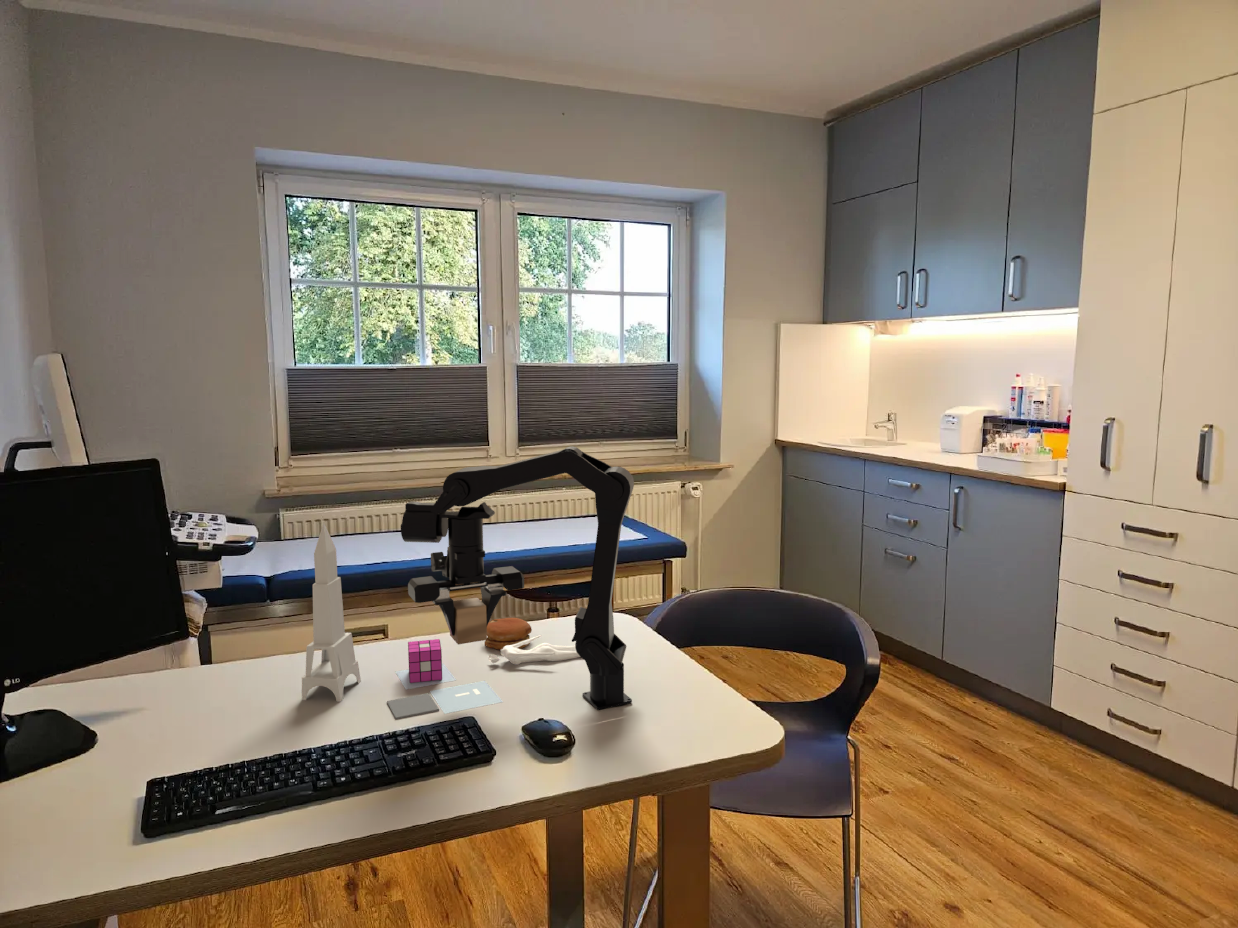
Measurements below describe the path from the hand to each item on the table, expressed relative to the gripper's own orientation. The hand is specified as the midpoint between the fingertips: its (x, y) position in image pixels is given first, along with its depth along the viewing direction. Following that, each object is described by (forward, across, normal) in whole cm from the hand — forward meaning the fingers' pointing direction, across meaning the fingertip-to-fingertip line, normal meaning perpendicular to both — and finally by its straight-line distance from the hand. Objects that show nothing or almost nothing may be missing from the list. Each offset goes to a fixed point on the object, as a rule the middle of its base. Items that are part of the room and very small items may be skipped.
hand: (468, 632), depth 138 cm
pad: (+11, +10, +1) cm, 15 cm away
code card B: (+11, +5, -11) cm, 16 cm away
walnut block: (+1, 0, 0) cm, 1 cm away
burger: (+11, -14, -21) cm, 27 cm away
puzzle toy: (+11, +5, -11) cm, 16 cm away
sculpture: (+11, +21, -12) cm, 27 cm away
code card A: (+11, +1, +1) cm, 11 cm away
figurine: (+11, -19, -9) cm, 24 cm away
